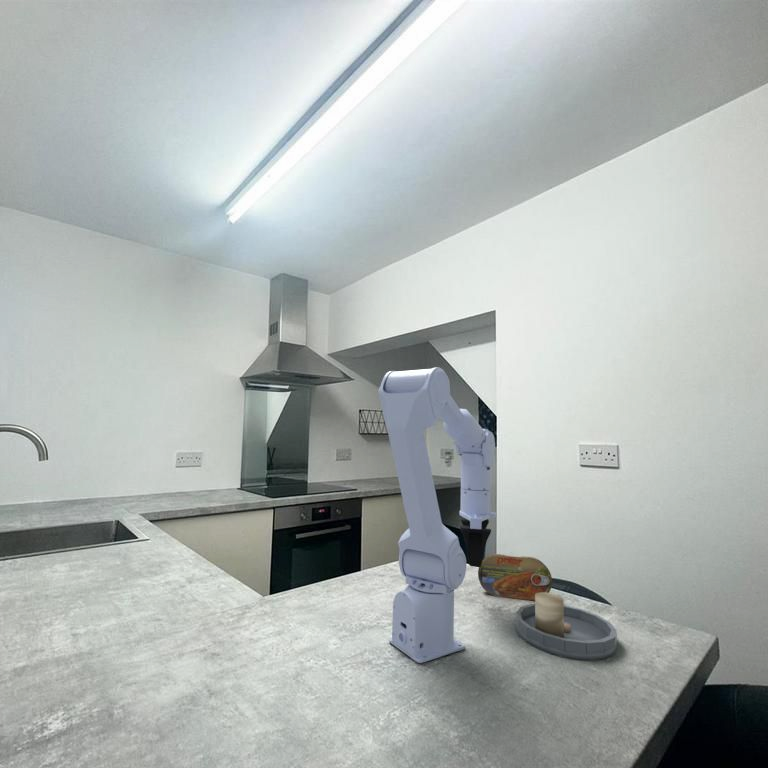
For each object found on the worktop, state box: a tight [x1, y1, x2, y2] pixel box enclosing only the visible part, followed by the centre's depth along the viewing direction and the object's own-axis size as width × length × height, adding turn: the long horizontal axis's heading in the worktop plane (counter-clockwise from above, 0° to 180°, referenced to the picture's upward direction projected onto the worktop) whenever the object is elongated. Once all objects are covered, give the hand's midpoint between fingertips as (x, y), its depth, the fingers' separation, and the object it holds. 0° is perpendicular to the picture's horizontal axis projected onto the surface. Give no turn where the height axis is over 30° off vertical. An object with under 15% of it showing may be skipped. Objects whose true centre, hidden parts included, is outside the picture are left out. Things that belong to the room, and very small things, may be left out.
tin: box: [477, 553, 553, 602], centre depth 90 cm, size 15×3×8 cm, turn 75°
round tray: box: [515, 603, 618, 661], centre depth 71 cm, size 16×16×2 cm
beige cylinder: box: [534, 592, 564, 638], centre depth 70 cm, size 4×4×6 cm
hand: (474, 560), depth 82 cm, fingers open, 7 cm apart
